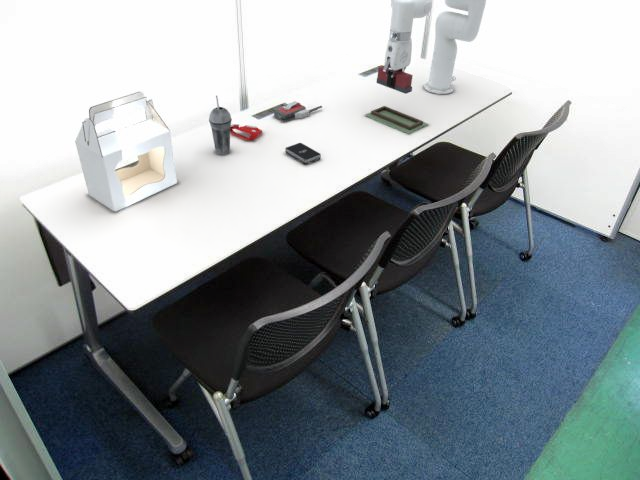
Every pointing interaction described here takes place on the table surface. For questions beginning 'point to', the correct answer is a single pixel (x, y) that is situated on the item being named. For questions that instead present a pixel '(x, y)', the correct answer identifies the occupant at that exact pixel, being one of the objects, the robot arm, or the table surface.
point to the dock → (396, 119)
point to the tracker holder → (248, 129)
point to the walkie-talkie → (292, 111)
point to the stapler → (396, 80)
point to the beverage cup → (220, 129)
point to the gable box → (125, 153)
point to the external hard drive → (303, 153)
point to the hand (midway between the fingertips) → (394, 85)
